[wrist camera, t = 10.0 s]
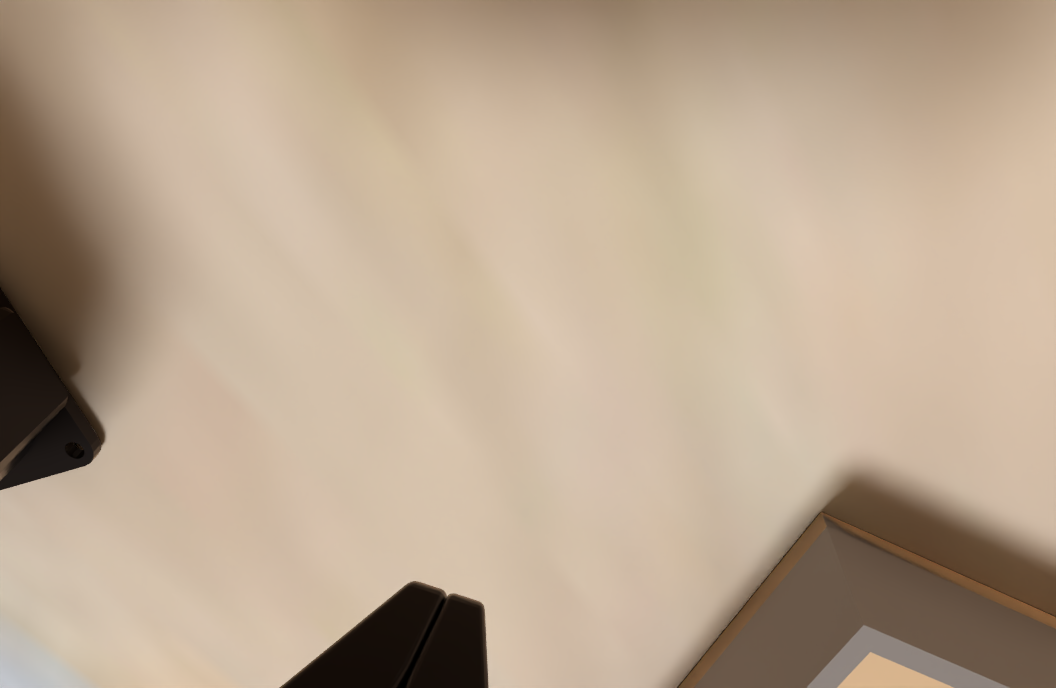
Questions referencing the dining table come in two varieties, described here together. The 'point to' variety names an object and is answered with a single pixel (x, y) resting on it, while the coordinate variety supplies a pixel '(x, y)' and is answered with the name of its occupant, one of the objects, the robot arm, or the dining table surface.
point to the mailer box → (876, 624)
